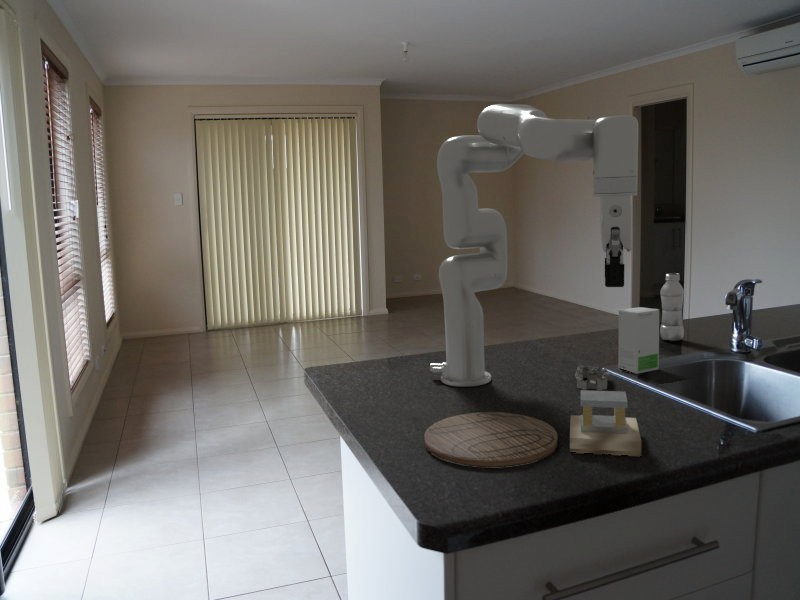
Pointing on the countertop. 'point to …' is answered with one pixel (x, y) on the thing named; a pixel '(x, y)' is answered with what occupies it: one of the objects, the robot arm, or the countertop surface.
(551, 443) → the trivet
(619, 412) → the block
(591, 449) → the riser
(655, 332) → the skincare box
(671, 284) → the plastic bottle
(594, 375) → the egg carton
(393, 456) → the countertop surface
